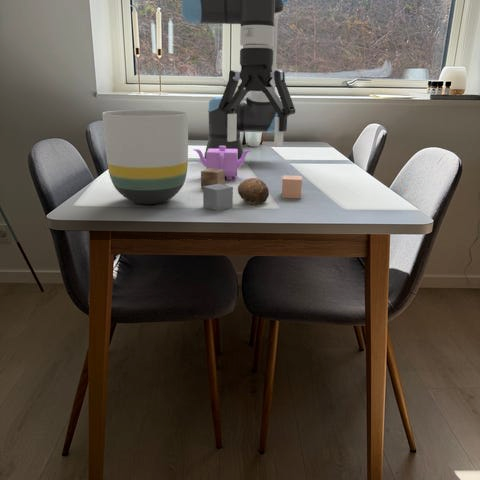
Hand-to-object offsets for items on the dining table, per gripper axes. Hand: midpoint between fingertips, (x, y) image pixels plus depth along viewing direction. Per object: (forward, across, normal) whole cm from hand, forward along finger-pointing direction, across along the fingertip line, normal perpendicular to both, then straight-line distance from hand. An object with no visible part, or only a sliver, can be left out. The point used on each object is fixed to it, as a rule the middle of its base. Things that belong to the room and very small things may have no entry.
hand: (254, 143), depth 110 cm
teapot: (+14, -25, +19) cm, 35 cm away
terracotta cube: (+15, +4, +12) cm, 19 cm away
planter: (+15, -20, -16) cm, 30 cm away
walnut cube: (+14, -18, +6) cm, 24 cm away
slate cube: (+15, -4, -9) cm, 18 cm away
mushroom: (+15, 0, 0) cm, 15 cm away
